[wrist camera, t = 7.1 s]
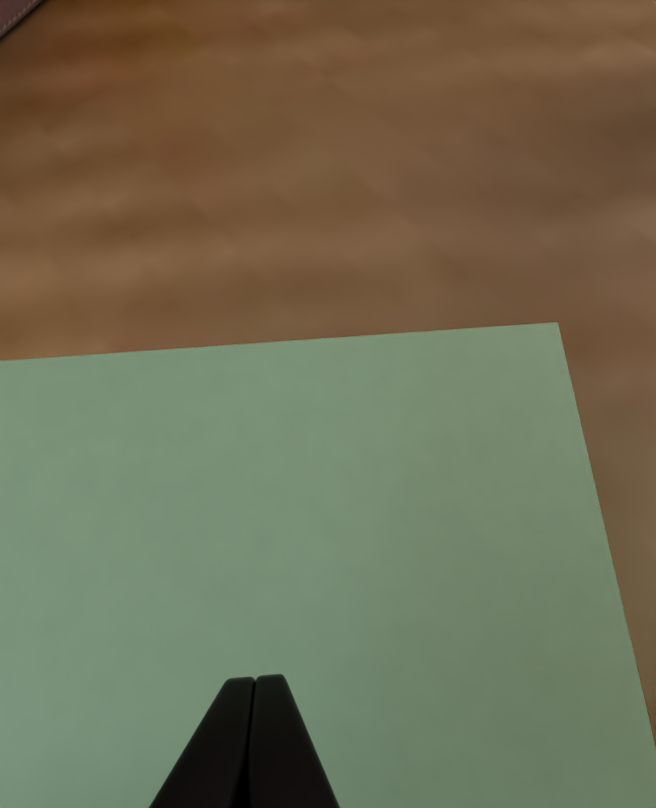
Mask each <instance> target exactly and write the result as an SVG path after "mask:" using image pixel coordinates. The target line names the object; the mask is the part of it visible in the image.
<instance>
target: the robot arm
mask: <svg viewBox="0 0 656 808" xmlns="http://www.w3.org/2000/svg"><path fill="white" fill-rule="evenodd" d="M149 808H340V806H339V804H338V801H337V799H336V797H335V794H334V792H333V790H332V787H331V785H330V782H329V780H328V778H327V775H326V773H325V771H324V768H323V766H322V763H321V761H320V759H319V756H318V754H317V752H316V749H315V747H314V744H313V742H312V740H311V737H310V735H309V733H308V730H307V728H306V725H305V723H304V721H303V718H302V716H301V714H300V711H299V709H298V706H297V704H296V702H295V699H294V697H293V695H292V692H291V690H290V687H289V685H288V683H287V680H286V678H285V677H284V675H282V674H271V675H261V676H258V677H257V678H256V680H255V679H254V678H253V677H251V676H249V677H237V678H229V679H228V680H226V681H225V683H224V684H223V686H222V687H221V689H220V691H219V692H218V694H217V695H216V697H215V699H214V700H213V702H212V704H211V705H210V707H209V709H208V710H207V712H206V714H205V715H204V717H203V719H202V720H201V722H200V724H199V725H198V727H197V729H196V730H195V732H194V734H193V735H192V737H191V739H190V740H189V742H188V744H187V745H186V747H185V749H184V750H183V752H182V753H181V755H180V757H179V758H178V760H177V762H176V763H175V765H174V767H173V768H172V770H171V772H170V773H169V775H168V777H167V778H166V780H165V782H164V783H163V785H162V787H161V788H160V790H159V792H158V793H157V795H156V797H155V798H154V800H153V802H152V803H151V805H150V806H149Z"/></svg>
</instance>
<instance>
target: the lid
mask: <svg viewBox="0 0 656 808" xmlns="http://www.w3.org/2000/svg"><path fill="white" fill-rule="evenodd" d="M271 674H282V675H284V677H285V678H286V680H287V683H288V685H289V687H290V690H291V692H292V695H293V697H294V699H295V702H296V704H297V706H298V709H299V711H300V714H301V716H302V718H303V721H304V723H305V725H306V728H307V730H308V733H309V735H310V737H311V740H312V742H313V744H314V747H315V749H316V752H317V754H318V756H319V759H320V761H321V763H322V766H323V768H324V771H325V773H326V775H327V778H328V780H329V782H330V785H331V787H332V790H333V792H334V794H335V797H336V799H337V801H338V804H339V806H340V808H656V747H655V743H654V738H653V734H652V730H651V725H650V721H649V717H648V712H647V708H646V704H645V699H644V695H643V691H642V686H641V682H640V678H639V673H638V669H637V665H636V660H635V656H634V651H633V647H632V643H631V638H630V634H629V630H628V625H627V621H626V617H625V612H624V608H623V604H622V599H621V595H620V591H619V586H618V582H617V578H616V573H615V569H614V565H613V560H612V556H611V552H610V547H609V543H608V539H607V534H606V530H605V526H604V521H603V517H602V513H601V508H600V504H599V500H598V495H597V491H596V486H595V482H594V478H593V473H592V469H591V465H590V460H589V456H588V452H587V447H586V443H585V439H584V434H583V430H582V426H581V421H580V417H579V413H578V408H577V404H576V400H575V395H574V391H573V387H572V382H571V378H570V374H569V369H568V365H567V361H566V356H565V352H564V348H563V343H562V339H561V335H560V330H559V326H558V323H557V322H552V323H537V324H523V325H508V326H494V327H479V328H465V329H450V330H436V331H421V332H407V333H392V334H378V335H363V336H349V337H334V338H320V339H305V340H291V341H276V342H262V343H247V344H233V345H218V346H204V347H189V348H175V349H160V350H146V351H131V352H117V353H102V354H88V355H73V356H59V357H44V358H30V359H15V360H1V361H0V808H149V806H150V805H151V803H152V802H153V800H154V798H155V797H156V795H157V793H158V792H159V790H160V788H161V787H162V785H163V783H164V782H165V780H166V778H167V777H168V775H169V773H170V772H171V770H172V768H173V767H174V765H175V763H176V762H177V760H178V758H179V757H180V755H181V753H182V752H183V750H184V749H185V747H186V745H187V744H188V742H189V740H190V739H191V737H192V735H193V734H194V732H195V730H196V729H197V727H198V725H199V724H200V722H201V720H202V719H203V717H204V715H205V714H206V712H207V710H208V709H209V707H210V705H211V704H212V702H213V700H214V699H215V697H216V695H217V694H218V692H219V691H220V689H221V687H222V686H223V684H224V683H225V681H226V680H228V679H229V678H237V677H249V676H251V677H253V678H254V679H255V680H256V678H257V677H258V676H261V675H271Z"/></svg>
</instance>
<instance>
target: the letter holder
mask: <svg viewBox="0 0 656 808" xmlns="http://www.w3.org/2000/svg"><path fill="white" fill-rule="evenodd" d="M42 1H43V0H0V38H1V37H2V36H3V35H4V34H5V33H6V32H7V31H8V30H10V29H12V28H13V27H14V26H15V25H16V24H17V23H18V22H19V21H20V20H22V18H23V17H24V16H26V15H28V14H29V12H30V11H31V10H33V9H34V8H35V7H36V6H37V5H38V4H39V3H41V2H42Z"/></svg>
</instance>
